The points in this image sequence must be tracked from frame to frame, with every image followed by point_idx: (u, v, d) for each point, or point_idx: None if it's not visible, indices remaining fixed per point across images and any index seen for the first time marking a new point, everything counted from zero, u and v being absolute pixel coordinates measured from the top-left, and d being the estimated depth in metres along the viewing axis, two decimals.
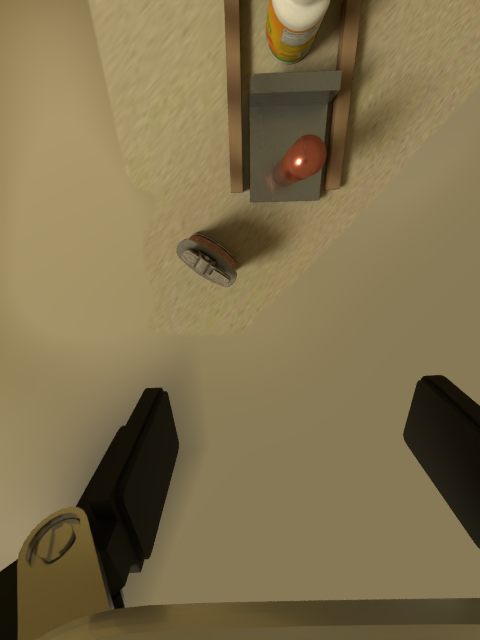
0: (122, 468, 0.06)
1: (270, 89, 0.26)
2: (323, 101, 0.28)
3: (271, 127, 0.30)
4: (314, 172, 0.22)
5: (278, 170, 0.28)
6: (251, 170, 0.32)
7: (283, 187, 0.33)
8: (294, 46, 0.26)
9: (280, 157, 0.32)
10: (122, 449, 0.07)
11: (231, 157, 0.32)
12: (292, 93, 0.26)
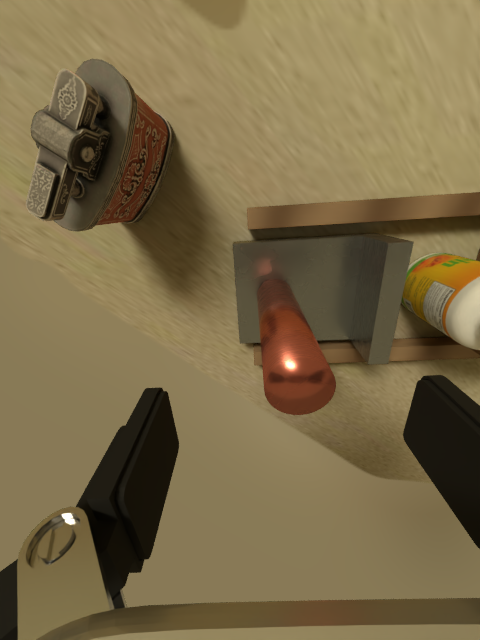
0: (122, 468, 0.06)
1: (386, 274, 0.17)
2: (354, 336, 0.22)
3: (333, 270, 0.21)
4: (271, 400, 0.11)
5: (277, 296, 0.17)
6: (279, 243, 0.20)
7: (255, 294, 0.22)
8: (423, 298, 0.19)
9: (294, 286, 0.21)
10: (122, 449, 0.07)
11: (299, 207, 0.19)
12: (375, 306, 0.18)
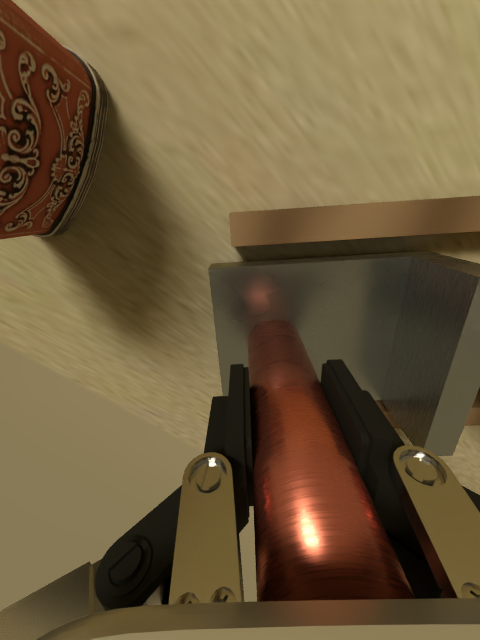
0: (243, 422, 0.07)
1: (469, 329, 0.10)
2: (391, 401, 0.15)
3: (362, 307, 0.14)
4: None
5: (281, 366, 0.10)
6: (280, 267, 0.13)
7: (245, 341, 0.15)
8: None
9: (303, 330, 0.14)
10: (235, 409, 0.08)
11: (312, 212, 0.12)
12: (440, 373, 0.11)
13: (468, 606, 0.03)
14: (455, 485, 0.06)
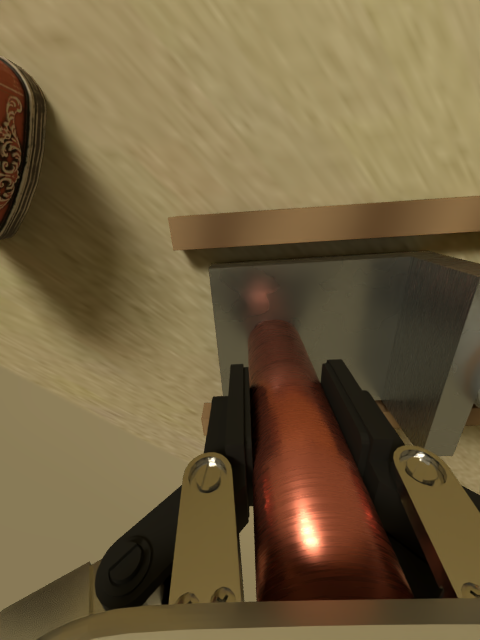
0: (243, 422, 0.07)
1: (469, 329, 0.10)
2: (391, 401, 0.15)
3: (362, 307, 0.14)
4: None
5: (281, 366, 0.10)
6: (280, 267, 0.13)
7: (245, 341, 0.15)
8: None
9: (303, 330, 0.14)
10: (235, 409, 0.08)
11: (250, 216, 0.12)
12: (440, 374, 0.11)
13: (468, 606, 0.03)
14: (455, 485, 0.06)
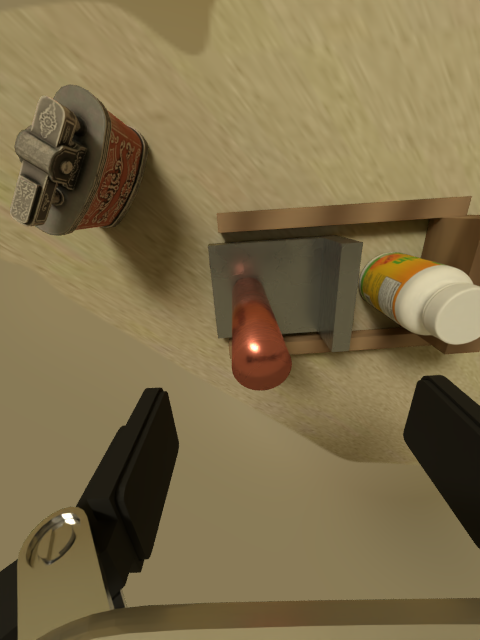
0: (122, 468, 0.06)
1: (342, 271, 0.19)
2: (321, 328, 0.24)
3: (299, 269, 0.23)
4: (238, 378, 0.13)
5: (248, 292, 0.19)
6: (250, 244, 0.22)
7: (230, 292, 0.24)
8: (378, 292, 0.22)
9: (265, 284, 0.23)
10: (122, 449, 0.07)
11: (263, 213, 0.21)
12: (335, 299, 0.20)
13: (468, 606, 0.03)
14: None
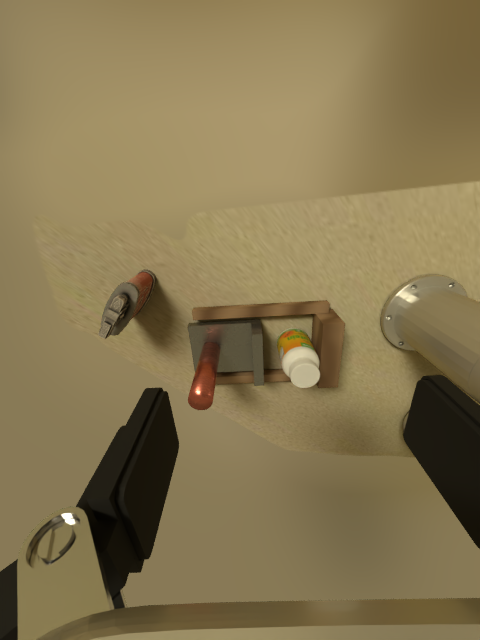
0: (122, 467, 0.06)
1: (254, 347, 0.37)
2: (253, 370, 0.42)
3: (239, 338, 0.41)
4: (191, 405, 0.31)
5: (205, 356, 0.37)
6: (210, 326, 0.40)
7: (201, 349, 0.42)
8: (279, 354, 0.39)
9: (221, 345, 0.42)
10: (122, 449, 0.07)
11: (216, 311, 0.39)
12: (253, 359, 0.38)
13: (468, 606, 0.03)
14: None
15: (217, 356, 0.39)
